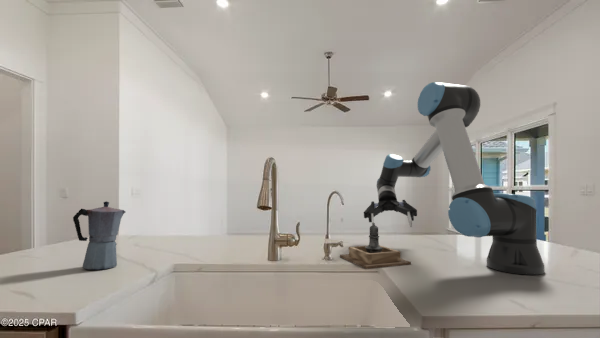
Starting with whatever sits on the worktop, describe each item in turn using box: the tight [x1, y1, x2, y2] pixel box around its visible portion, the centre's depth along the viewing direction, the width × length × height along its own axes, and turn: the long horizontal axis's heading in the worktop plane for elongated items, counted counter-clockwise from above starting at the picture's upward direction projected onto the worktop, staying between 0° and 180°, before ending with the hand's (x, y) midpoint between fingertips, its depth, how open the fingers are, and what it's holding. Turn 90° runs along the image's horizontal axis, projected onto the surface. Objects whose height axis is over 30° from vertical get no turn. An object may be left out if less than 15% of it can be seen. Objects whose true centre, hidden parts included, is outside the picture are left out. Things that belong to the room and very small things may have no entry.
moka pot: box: [72, 200, 126, 270], centre depth 99 cm, size 10×15×20 cm, turn 155°
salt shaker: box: [365, 222, 383, 253], centre depth 111 cm, size 6×6×12 cm
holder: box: [339, 244, 412, 270], centre depth 111 cm, size 17×17×4 cm
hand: (391, 224), depth 121 cm, fingers open, 13 cm apart
